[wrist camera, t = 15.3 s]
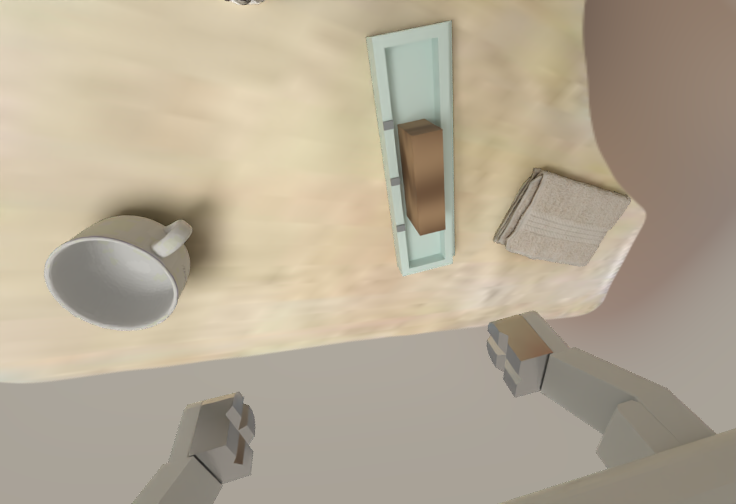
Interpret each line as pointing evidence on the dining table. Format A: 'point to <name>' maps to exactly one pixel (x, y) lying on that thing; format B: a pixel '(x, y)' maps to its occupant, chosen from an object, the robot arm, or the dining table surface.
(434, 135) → the wooden block
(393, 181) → the ledge
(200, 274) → the dining table surface
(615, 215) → the washcloth
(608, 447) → the robot arm
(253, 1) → the decorative candle
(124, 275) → the teacup
